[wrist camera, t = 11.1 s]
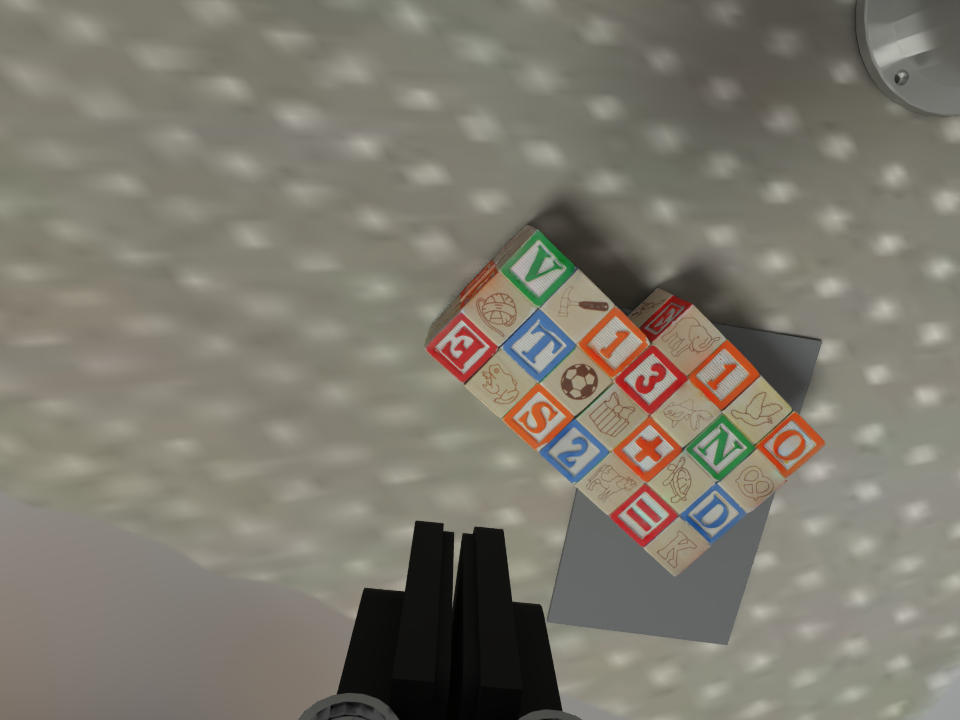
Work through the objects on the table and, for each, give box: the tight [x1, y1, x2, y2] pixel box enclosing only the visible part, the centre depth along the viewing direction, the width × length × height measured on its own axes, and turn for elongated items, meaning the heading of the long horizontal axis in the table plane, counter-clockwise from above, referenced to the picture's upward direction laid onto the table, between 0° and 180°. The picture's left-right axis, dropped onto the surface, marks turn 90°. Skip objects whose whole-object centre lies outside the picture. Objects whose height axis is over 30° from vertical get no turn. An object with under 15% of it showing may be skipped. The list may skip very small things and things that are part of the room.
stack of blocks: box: [424, 225, 826, 576], centre depth 38 cm, size 21×6×12 cm
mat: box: [547, 307, 822, 645], centre depth 44 cm, size 14×24×1 cm, turn 170°
